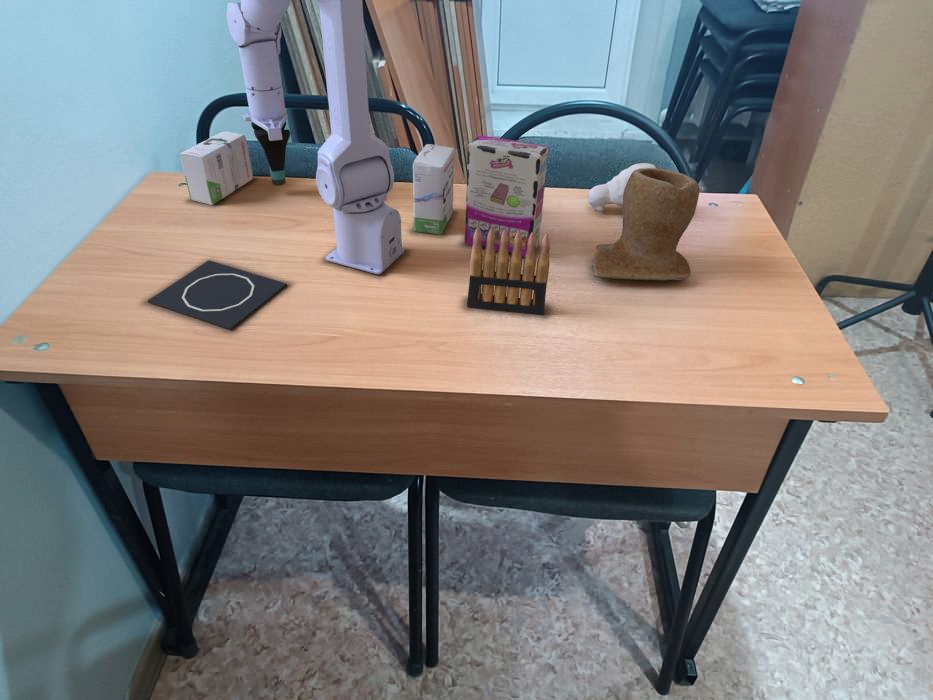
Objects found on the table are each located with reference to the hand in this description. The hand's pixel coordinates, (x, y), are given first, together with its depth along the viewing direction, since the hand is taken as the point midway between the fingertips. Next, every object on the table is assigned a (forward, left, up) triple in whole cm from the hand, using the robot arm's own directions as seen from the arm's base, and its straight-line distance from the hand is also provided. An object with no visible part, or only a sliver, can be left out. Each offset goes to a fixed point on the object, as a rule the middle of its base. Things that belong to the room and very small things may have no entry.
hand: (276, 166), depth 112 cm
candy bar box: (-42, -1, -5) cm, 42 cm away
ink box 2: (-29, -3, -5) cm, 30 cm away
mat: (-12, +30, -5) cm, 33 cm away
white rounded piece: (-56, -22, -5) cm, 60 cm away
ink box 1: (+9, +10, -1) cm, 13 cm away
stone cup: (-63, -4, -5) cm, 63 cm away
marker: (0, 0, -3) cm, 3 cm away
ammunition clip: (-49, +15, -5) cm, 51 cm away
